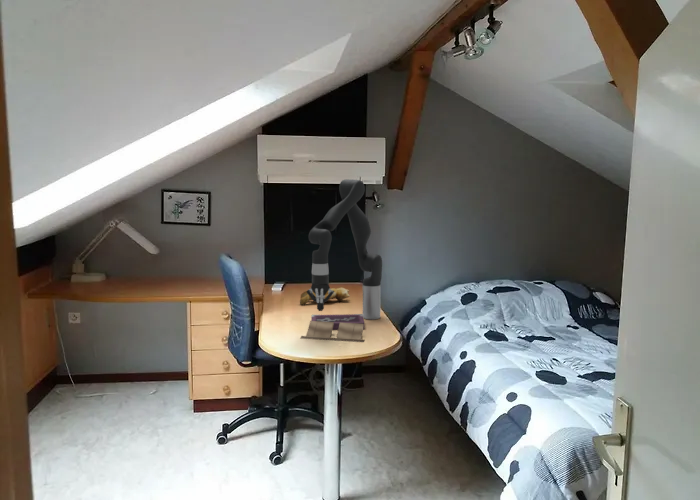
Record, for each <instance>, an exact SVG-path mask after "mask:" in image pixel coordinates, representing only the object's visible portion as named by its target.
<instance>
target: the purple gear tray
mask: <svg viewBox="0 0 700 500" xmlns="http://www.w3.org/2000/svg"><path fill="white" fill-rule="evenodd" d="M310 318H311V320H310V321H321V322H334V325H333V329H332V331H333V330H335V331H336V330H337V331H338V328H339V324H340V323H358V324H364V327H363V330H365V326H366V323H365V320H364V319H365V318H363V313H351V314H349V313H348V314H311V317H310Z"/></svg>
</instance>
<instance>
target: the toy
mask: <svg viewBox="0 0 700 500" xmlns="http://www.w3.org/2000/svg"><path fill="white" fill-rule="evenodd" d="M330 289H331V290H333V291H334V293H333V294H332V296H331V297H330V298H329V299H328V301H329V300H334V299H335V300H337V301H339V302H342V301H343V300H346V299H347V298H350V297H351V295H350V294H349V292H350V290H349V289H347V288H344V287H337V288H334V287H333V288H330ZM312 291H313V290H312ZM328 292H329V291H328ZM328 292H327V293H326V294H325V297H324V299H325V298H326V297H327V296H328V295H329V294H328ZM313 294H314V296H315V297H316V294H315V293H314V292H313ZM309 301H313V300H312V299H311V297H310V296H309V295H308V293H307V290H305V291H303V292H302V293H301V294H300V300H299V304H300V306H304V305H306V304H307V303H308V302H309Z"/></svg>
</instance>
